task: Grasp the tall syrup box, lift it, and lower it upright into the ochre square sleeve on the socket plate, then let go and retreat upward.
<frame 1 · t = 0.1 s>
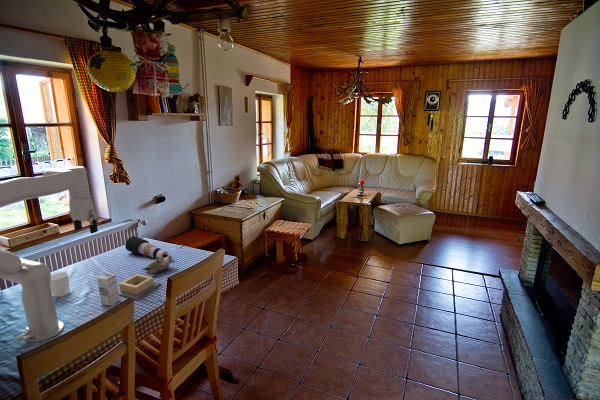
hand: (86, 231, 147), 37 cm above the table, fingers open, 9 cm apart
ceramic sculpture: (158, 271, 188), on the table
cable: (151, 256, 207), on the table
white cup: (61, 294, 163), on the table
socket: (137, 289, 168), on the table
syrup box: (111, 302, 156), on the table
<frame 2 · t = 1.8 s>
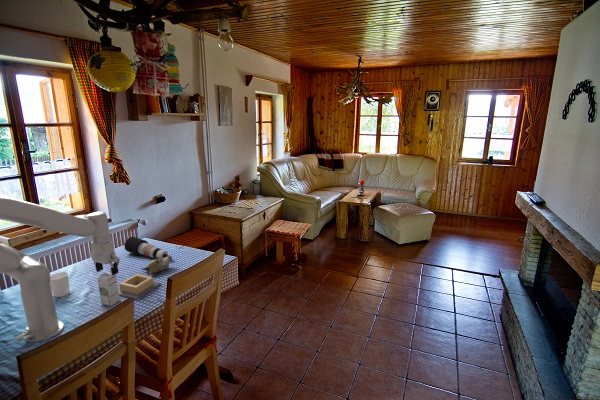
hand: (107, 272, 153), 16 cm above the table, fingers open, 9 cm apart
nothing on the table moved.
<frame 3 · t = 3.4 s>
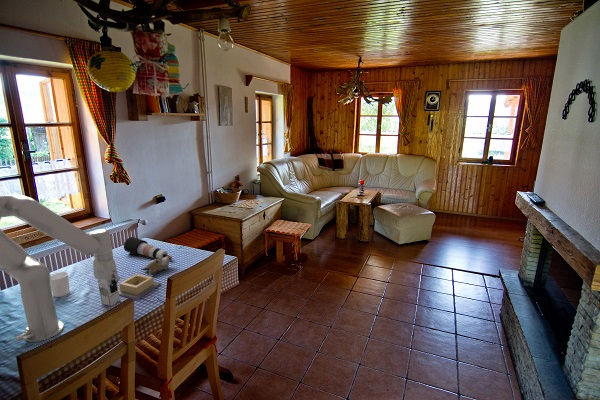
hand: (109, 290, 154), 7 cm above the table, fingers closed on syrup box, 5 cm apart
syrup box: (111, 302, 156), on the table, touching gripper
everything else where it was.
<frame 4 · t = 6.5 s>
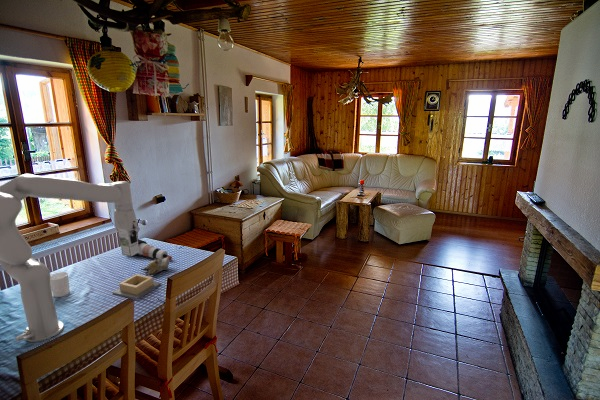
hand: (129, 241, 160), 27 cm above the table, fingers closed on syrup box, 5 cm apart
syrup box: (130, 253, 162), point 20 cm above the table, touching gripper
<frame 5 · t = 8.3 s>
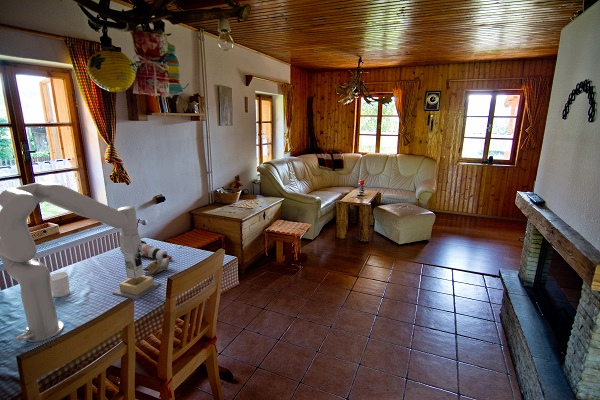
hand: (133, 264, 164), 14 cm above the table, fingers closed on syrup box, 5 cm apart
syrup box: (135, 276, 166), point 7 cm above the table, touching gripper
when the fingers open (8 cm above the table, at t = 9.9 s): syrup box stays where it is, resting on socket.
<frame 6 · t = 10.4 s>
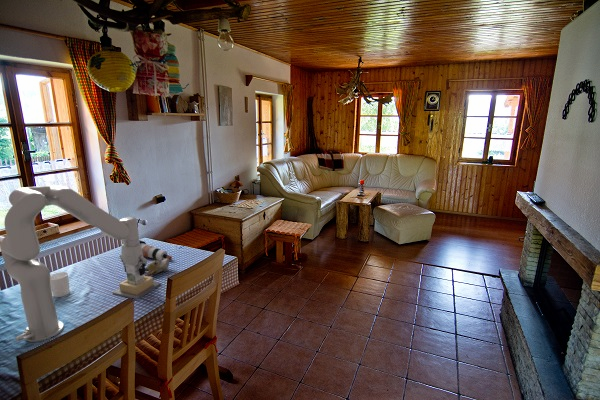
hand: (135, 272, 166), 9 cm above the table, fingers open, 9 cm apart
syrup box: (137, 288, 168), point 1 cm above the table, touching socket
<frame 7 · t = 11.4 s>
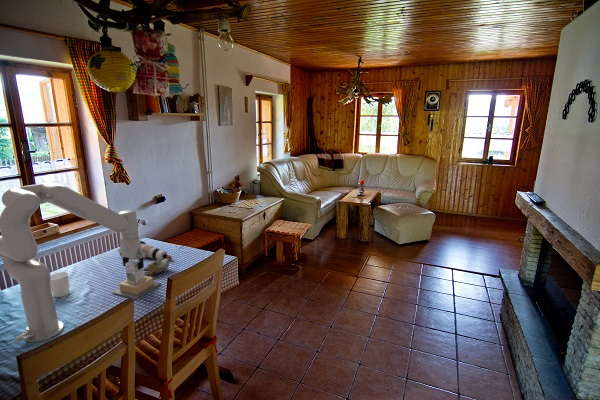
hand: (133, 266, 164), 13 cm above the table, fingers open, 9 cm apart
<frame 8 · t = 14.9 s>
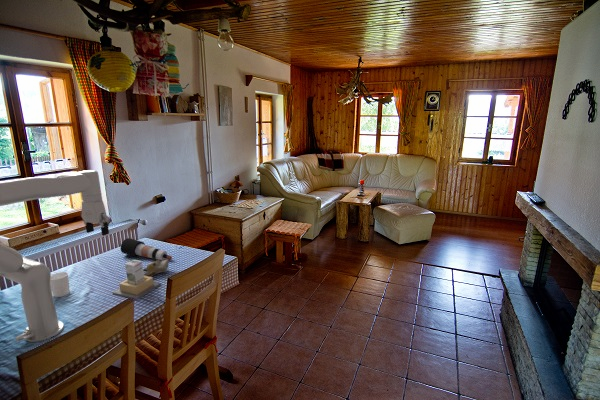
hand: (97, 233, 150), 34 cm above the table, fingers open, 9 cm apart
at the end: syrup box 0.3 cm off-centre on the socket, point 0.8 cm above the socket's base; syrup box tilted 0°; the gripper is holding nothing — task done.
